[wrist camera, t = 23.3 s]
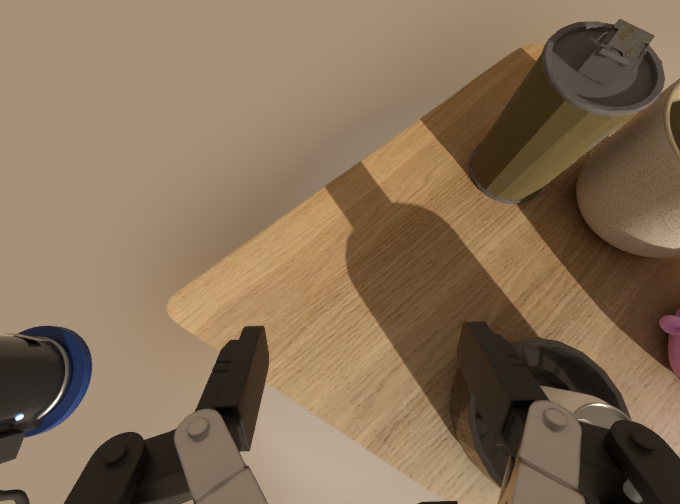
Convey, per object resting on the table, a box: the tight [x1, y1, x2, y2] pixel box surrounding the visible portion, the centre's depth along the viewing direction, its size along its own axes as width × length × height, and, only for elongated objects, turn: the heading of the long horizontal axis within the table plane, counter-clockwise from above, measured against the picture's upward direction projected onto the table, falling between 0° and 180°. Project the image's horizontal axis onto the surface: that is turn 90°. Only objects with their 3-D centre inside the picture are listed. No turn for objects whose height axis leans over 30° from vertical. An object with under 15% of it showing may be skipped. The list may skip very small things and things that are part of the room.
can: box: [540, 386, 632, 429], centre depth 29 cm, size 6×6×12 cm
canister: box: [469, 19, 665, 204], centre depth 35 cm, size 11×10×20 cm
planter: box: [576, 79, 680, 258], centre depth 35 cm, size 17×17×15 cm
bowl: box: [450, 338, 631, 504], centre depth 33 cm, size 15×15×6 cm
